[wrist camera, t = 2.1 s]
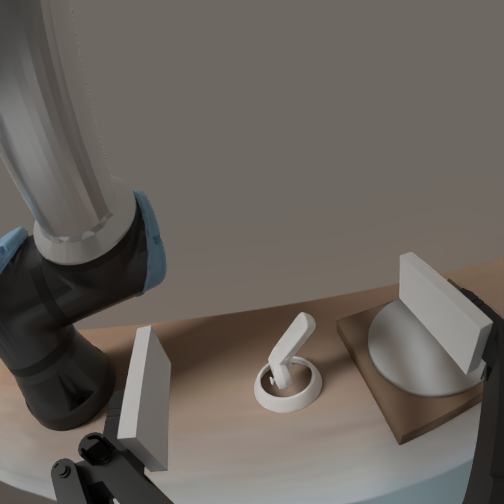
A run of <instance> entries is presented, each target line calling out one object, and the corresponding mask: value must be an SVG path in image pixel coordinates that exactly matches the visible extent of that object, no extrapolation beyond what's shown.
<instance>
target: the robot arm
mask: <svg viewBox="0 0 504 504" xmlns="http://www.w3.org/2000/svg"><path fill="white" fill-rule="evenodd" d="M0 157H1V159H2V160H3V162H4V164H5V166H6V168H7V170H8V172H9V174H10V176H11V177H12V179H13V181H14V183H15V185H16V187H17V188H18V190H19V192H20V194H21V195H22V197H23V199H24V201H25V202H26V204H27V206H28V207H29V209H30V211H31V212H32V214H33V215H34V217H35V219H36V220H35V224H34V235H32V236H28V231H26V230H25V229H24V228H23V227H18V228H17V229H15V230H13V231H11V232H9V233H8V234H6V235H5V236H3V237H2V238H1V239H0V358H1V359H2V361H3V362H4V363H5V365H6V366H7V367H8V369H9V370H10V371H11V373H12V374H13V375H14V377H15V379H16V381H17V383H18V386H19V388H20V390H21V392H22V394H23V396H24V398H25V401H26V404H27V407H28V409H29V411H30V412H31V414H32V415H33V416H34V417H35V418H36V419H37V420H38V421H39V422H40V423H41V424H42V425H43V426H45V427H47V428H49V429H53V430H66V429H71V428H74V427H77V426H79V425H81V424H83V423H85V422H86V421H88V420H89V419H91V418H92V417H93V416H94V415H96V414H97V413H98V412H99V411H100V410H101V408H102V407H103V406H104V405H105V403H106V402H107V400H108V399H109V397H110V395H111V393H112V391H113V388H114V384H115V371H114V368H113V366H112V364H111V363H110V361H109V360H108V358H107V357H106V355H105V354H104V353H103V352H102V351H101V350H100V349H98V348H97V347H95V346H93V345H92V344H91V343H90V342H89V341H88V340H87V339H86V338H84V337H83V336H82V335H81V334H80V333H79V332H78V331H77V330H76V329H75V327H74V326H73V323H75V322H77V321H79V320H82V319H84V318H86V317H89V316H91V315H93V314H95V313H98V312H100V311H102V310H105V309H107V308H109V307H112V306H114V305H116V304H119V303H121V302H123V301H125V300H128V299H131V298H133V297H135V296H141V295H143V294H144V293H145V292H146V291H148V290H150V289H152V288H154V287H156V286H158V285H159V284H160V283H162V281H163V280H164V278H165V275H166V269H167V267H166V257H165V251H164V246H163V242H162V240H161V238H160V232H159V227H158V223H157V220H156V217H155V215H154V211H153V209H152V206H151V204H150V202H149V200H148V198H147V196H146V195H145V194H144V192H142V191H140V190H132V189H131V188H130V187H129V185H128V184H127V183H126V182H125V181H123V180H122V179H120V178H118V177H115V176H112V174H111V171H110V167H109V164H108V161H107V158H106V154H105V151H104V148H103V144H102V141H101V137H100V134H99V131H98V127H97V123H96V119H95V115H94V112H93V108H92V104H91V100H90V96H89V92H88V88H87V83H86V79H85V74H84V70H83V65H82V61H81V56H80V51H79V45H78V40H77V35H76V29H75V23H74V17H73V10H72V4H71V0H0ZM399 298H400V299H401V300H402V302H403V303H404V304H405V305H406V306H407V307H408V308H409V309H410V310H411V311H412V313H413V314H414V315H415V316H416V317H417V318H418V319H419V320H420V321H421V323H422V324H423V325H424V326H425V327H426V328H427V329H428V330H429V332H430V333H431V334H432V335H433V336H434V337H435V338H436V340H437V341H438V342H439V343H440V344H441V345H442V347H443V348H444V349H445V350H446V351H447V353H448V354H449V355H450V356H451V357H452V358H453V360H454V361H455V362H456V363H457V364H458V366H459V367H460V368H461V369H462V371H463V372H464V373H465V374H466V375H467V374H469V373H471V372H472V371H474V370H476V369H477V368H479V365H480V362H481V359H483V361H484V362H485V363H486V364H485V367H484V370H483V372H482V375H481V378H480V380H482V379H483V376H484V382H483V395H482V406H481V415H480V423H479V430H478V437H477V443H476V449H475V454H474V459H473V464H472V469H471V474H470V478H469V482H468V486H467V490H466V494H465V498H464V501H463V503H462V504H504V320H503V319H502V318H501V317H500V316H499V315H498V314H497V313H496V312H494V311H493V310H492V309H491V308H490V307H489V306H488V305H487V304H484V302H483V301H482V300H481V299H479V298H478V297H477V296H476V295H475V294H474V293H473V292H471V291H469V290H466V289H464V288H462V289H460V290H457V289H456V288H455V287H454V286H453V285H451V284H450V283H449V282H448V281H447V280H446V279H444V278H443V277H442V276H441V275H440V274H438V273H437V272H436V271H435V270H434V269H432V268H431V267H430V266H429V265H427V264H426V263H425V262H424V261H422V260H421V259H420V258H419V257H418V256H416V255H415V254H414V253H413V252H409V253H406V254H403V255H400V287H399ZM170 375H171V362H170V361H169V359H168V357H167V355H166V353H165V351H164V349H163V347H162V345H161V344H160V342H159V340H158V338H157V336H156V334H155V332H154V330H153V328H152V326H146V327H142V328H138V329H137V333H136V338H135V342H134V347H133V352H132V357H131V361H130V366H129V371H128V377H127V382H126V387H125V389H124V390H118V391H115V392H114V394H113V395H112V397H111V399H110V401H109V406H108V411H107V416H106V417H107V418H106V421H105V426H104V431H103V434H101V433H97V432H94V433H90V434H88V435H86V436H85V437H84V438H83V439H82V440H81V442H80V444H79V448H78V451H79V454H80V456H81V457H82V458H83V459H85V460H84V461H81V462H78V463H74V462H73V461H71V460H70V459H66V458H64V459H60V460H59V461H57V462H56V463H55V464H54V465H53V467H52V470H51V477H52V482H53V486H54V490H55V494H56V498H57V502H58V504H114V502H113V499H114V498H116V499H117V501H118V502H119V503H120V504H174V503H173V502H172V501H171V500H170V499H169V498H168V497H167V496H166V495H165V494H164V493H163V492H162V491H161V490H160V489H159V488H158V487H157V486H156V485H155V484H154V483H153V482H152V481H151V480H150V479H149V478H148V477H147V476H146V475H145V474H144V467H146V468H147V469H148V470H149V471H150V472H155V471H166V470H168V418H169V394H170Z"/></svg>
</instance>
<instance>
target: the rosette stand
mask: <svg viewBox="0 0 504 504" xmlns="http://www.w3.org/2000/svg"><path fill="white" fill-rule="evenodd" d="M447 281H448V282H449V283H450V284H451V285H453V286H454V287H455V288H456V289H457V290H460V289H461V288H460V287H459V286H458V285H456V284H455V283H454V282H453V281H452V280H451V279H448V280H447ZM337 332H338V334H339V336H340V337H341V339H342V341H343V343H344V344H345V346H346V348H347V350H348V351H349V353H350V355H351V357H352V359H353V360H354V362H355V364H356V366H357V368H358V369H359V371H360V373H361V375H362V377H363V378H364V380H365V382H366V384H367V386H368V388H369V389H370V391H371V393H372V395H373V397H374V399H375V400H376V402H377V404H378V406H379V408H380V410H381V412H382V413H383V415H384V417H385V419H386V421H387V423H388V425H389V427H390V429H391V430H392V432H393V434H394V436H395V438H396V440H397V442H398V444H399V445H401V444H403V443H405V442H408V441H410V440H412V439H414V438H416V437H418V436H420V435H422V434H424V433H426V432H428V431H430V430H432V429H434V428H436V427H438V426H439V425H441V424H443V423H445V422H447V421H449V420H450V419H452V418H454V417H456V416H457V415H459V414H461V413H462V412H464V411H466V410H467V409H469V408H471V407H472V406H474V405H476V404H477V403H479V402H480V401H482V395H483V382H484V376H483V379H482V380H480V378H481V375H482V372H483V370H484V367H485V364H486V363H485V362H484V361H483V359H481V362H480V365H479V368H477V369H476V370H474V371H472V372H471V373H469V374H467V375H466V374H465V373H464V372H463V371H462V369H461V368H460V367H459V366H458V364H457V363H456V362H455V361H454V360H453V358H452V357H451V356H450V355H449V354H448V353H447V351H446V350H445V349H444V348H443V347H442V345H441V344H440V343H439V342H438V341H437V340H436V338H435V337H434V336H433V335H432V334H431V333H430V332H429V330H428V329H427V328H426V327H425V326H424V325H423V324H422V323H421V321H420V320H419V319H418V318H417V317H416V316H415V315H414V314H413V313H412V311H411V310H410V309H409V308H408V307H407V306H406V305H405V304H404V303H403V302H402V300H401V299H400V298H399V299H396V300H394V301H391V302H389V303H386V304H383V305H380V306H378V307H375V308H372V309H369V310H366V311H363V312H360V313H357V314H354V315H351V316H348V317H345V318H342V319H339V320H337Z"/></svg>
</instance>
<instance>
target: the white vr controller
mask: <svg viewBox="0 0 504 504" xmlns="http://www.w3.org/2000/svg"><path fill="white" fill-rule="evenodd" d="M315 327H316V323H315V320H314V318H313V317H312V316H311V315H309V314H307V313H304V312H301V313H300V314H299V315H298V316H297V317H296V318H295V320H294V321H293V322H292V324H291V325H290V327H289V328H288V329H287V331H286V332H285V333H284V335H283V336H282V337H281V339H280V340H279V341H278V343H277V344H276V345H275V347H274V348H273V350H272V352H271V354H270V356H269V357H268V359H269V360H268V361H269V363H267V364H266V365H265V366H264V367H263V368H262V369H261V371H260V372H259V374H258V376H257V379H256V382H255V387H254V393H255V397H256V399H257V401H258V402H259V403H260V404H261V405H262V406H263V407H265V408H266V409H268V410H271V411H274V412H280V413H288V412H294V411H298V410H300V409H303V408H305V407H307V406H308V405H310V404H311V403H312V402H313V401H314V400H315V399H316V398H317V397H318V395H319V394H320V391H321V389H322V377H321V375H320V373H319V371H318V370H317V369H316V367H315V366H314V365H313V364H311V363H310V362H309V361H307V360H305V359H304V358H301V357H296V356H294V355H295V354H296V353H297V352H298V350H299V349H300V348H301V347H302V345H303V344H304V343H305V342H306V340H307V339H308V338H309V337H310V335H311V334H312V333H313V331H314V330H315ZM292 363H299V364H303V365H306V366H308V367H309V368H310V369H311V372H312V378H311V381H310V384H309V385H308V386H307V387H306V388H305V389H304V390H303V391H302V392H300V393H298V394H296V395H294V396H290V397H276V396H272V395H270V394H268V393H267V392H266V391H265V390H264V389H263V388H262V386H261V379H262V377H263V375H264V374H265V373H266V372H268V371H269V370H270V369H271V370H272V373H273V376H274V378H272V377H270V381H271V383H272V385H274V382H276V384H277V386H278V387H279V389H286V388H288V387H290V386H291V385H292V380H291V377H290V373H291V372H292V370H293V364H292Z"/></svg>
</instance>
